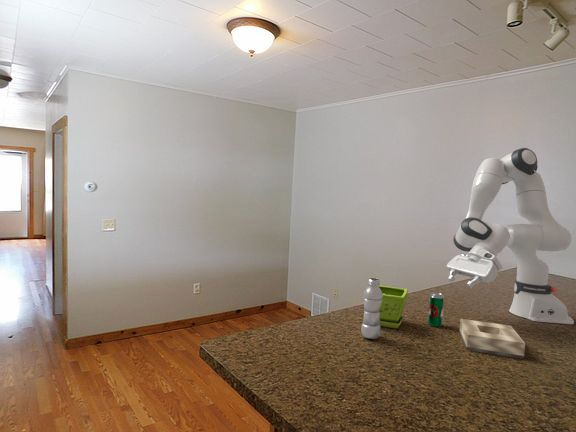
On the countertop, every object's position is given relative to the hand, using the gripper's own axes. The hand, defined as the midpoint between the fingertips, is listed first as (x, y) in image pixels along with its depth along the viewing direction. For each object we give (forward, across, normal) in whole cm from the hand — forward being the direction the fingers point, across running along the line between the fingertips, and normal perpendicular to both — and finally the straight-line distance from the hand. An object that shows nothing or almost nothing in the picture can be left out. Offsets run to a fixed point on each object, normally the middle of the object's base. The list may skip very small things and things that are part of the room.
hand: (459, 283), depth 140 cm
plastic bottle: (+41, +5, -19) cm, 46 cm away
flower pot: (+32, -6, -9) cm, 33 cm away
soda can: (+19, +1, +3) cm, 19 cm away
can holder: (+15, +20, +7) cm, 26 cm away
